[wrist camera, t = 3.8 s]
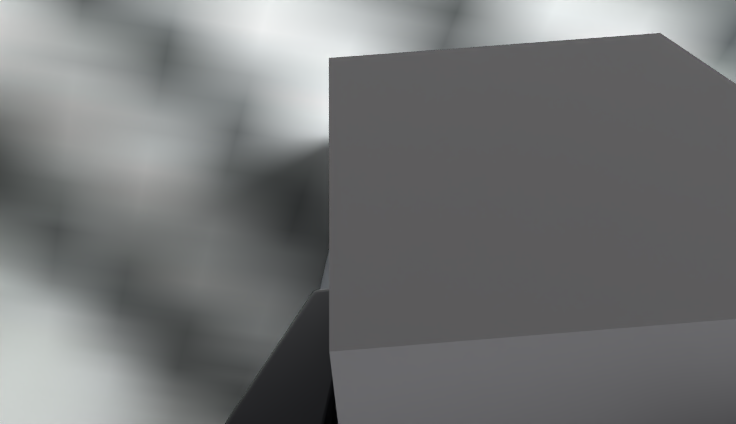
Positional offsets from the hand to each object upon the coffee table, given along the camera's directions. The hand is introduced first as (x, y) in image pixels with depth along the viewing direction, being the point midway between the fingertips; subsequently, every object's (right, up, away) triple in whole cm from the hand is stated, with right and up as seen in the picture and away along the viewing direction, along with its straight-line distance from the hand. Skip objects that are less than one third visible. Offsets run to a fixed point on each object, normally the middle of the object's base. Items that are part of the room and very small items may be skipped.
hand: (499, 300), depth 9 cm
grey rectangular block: (0, +1, +1) cm, 1 cm away
